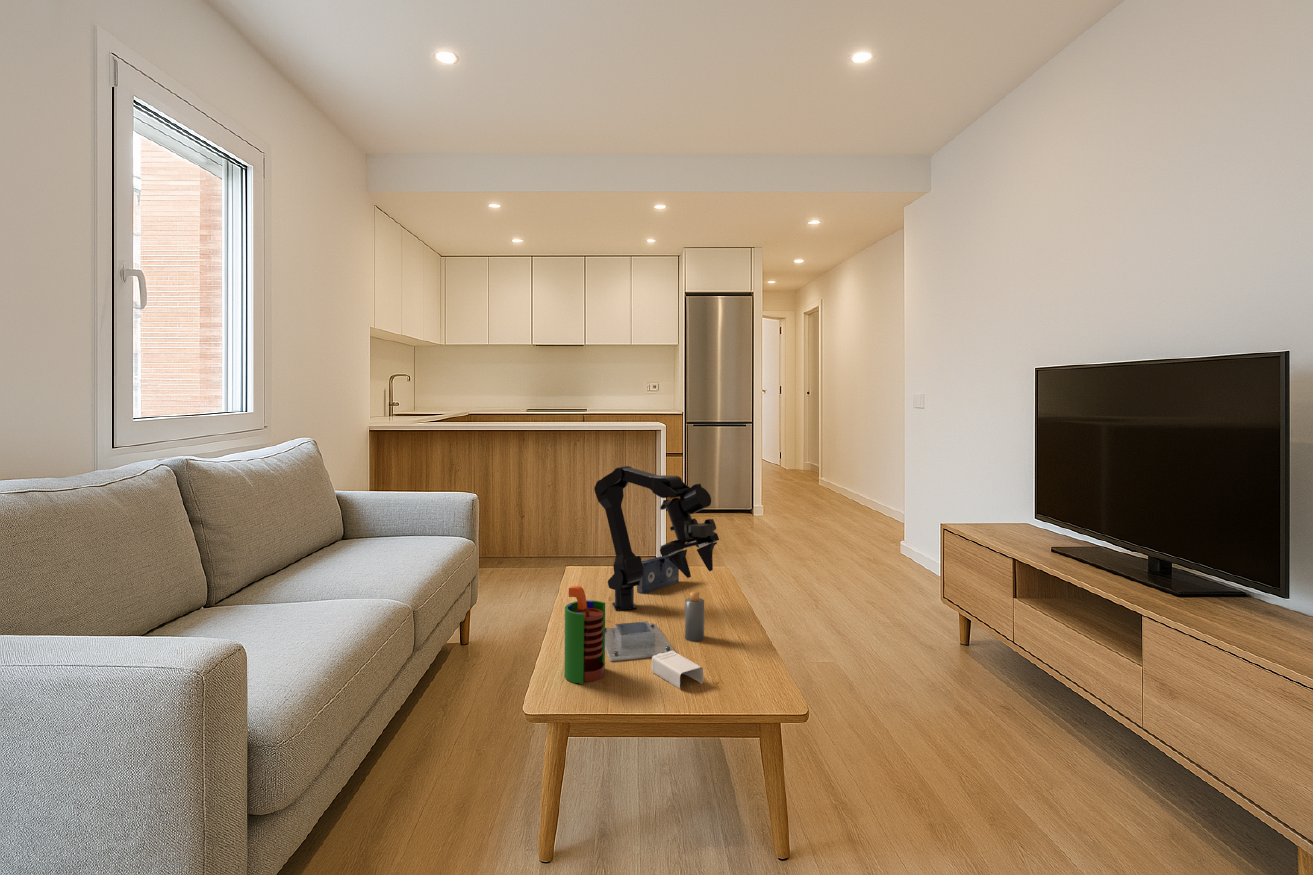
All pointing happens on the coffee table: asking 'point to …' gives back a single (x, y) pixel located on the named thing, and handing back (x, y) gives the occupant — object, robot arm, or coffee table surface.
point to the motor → (584, 638)
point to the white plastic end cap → (675, 668)
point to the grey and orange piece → (694, 618)
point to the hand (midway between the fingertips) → (700, 574)
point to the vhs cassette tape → (657, 574)
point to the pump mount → (635, 641)
